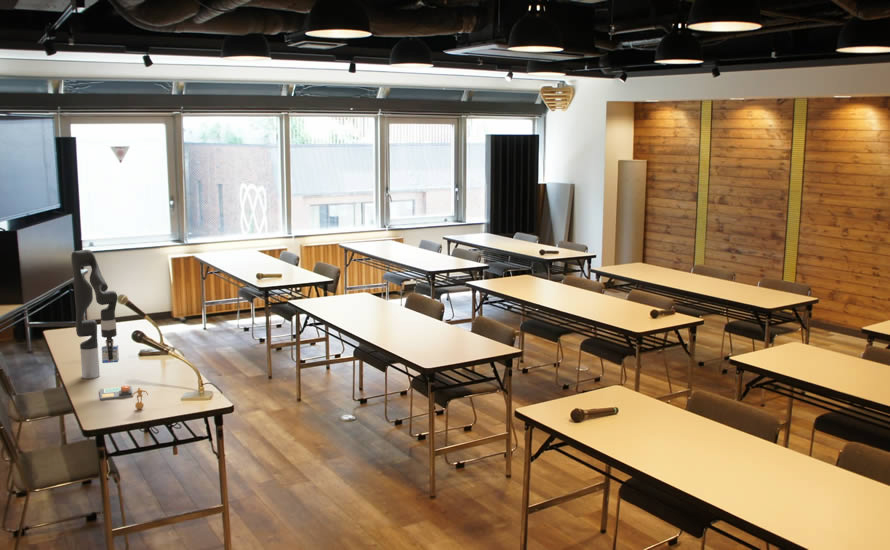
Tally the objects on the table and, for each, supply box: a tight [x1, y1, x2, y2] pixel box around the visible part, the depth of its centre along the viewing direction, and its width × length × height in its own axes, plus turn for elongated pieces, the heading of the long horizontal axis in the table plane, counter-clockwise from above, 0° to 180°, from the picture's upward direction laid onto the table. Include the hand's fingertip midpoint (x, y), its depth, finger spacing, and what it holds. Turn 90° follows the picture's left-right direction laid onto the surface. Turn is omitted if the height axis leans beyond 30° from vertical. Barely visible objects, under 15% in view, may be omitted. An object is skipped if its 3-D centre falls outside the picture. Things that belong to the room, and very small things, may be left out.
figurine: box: [130, 387, 149, 410], centre depth 395 cm, size 8×6×12 cm
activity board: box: [99, 385, 134, 401], centre depth 420 cm, size 17×16×2 cm
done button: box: [120, 385, 131, 392], centre depth 417 cm, size 4×4×2 cm
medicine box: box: [101, 345, 120, 364], centre depth 422 cm, size 8×4×9 cm, turn 105°
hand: (110, 358), depth 422 cm, fingers closed on medicine box, 5 cm apart
